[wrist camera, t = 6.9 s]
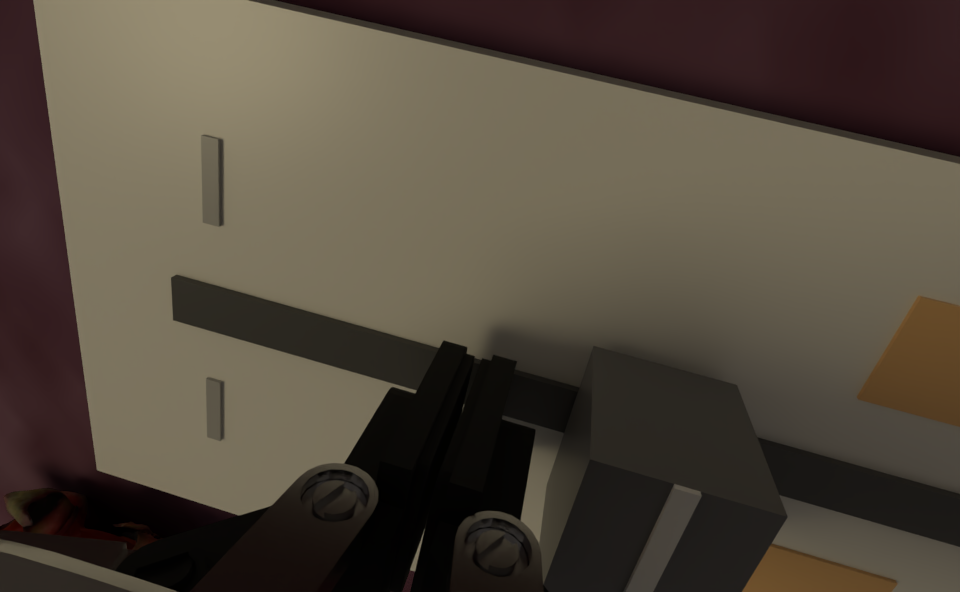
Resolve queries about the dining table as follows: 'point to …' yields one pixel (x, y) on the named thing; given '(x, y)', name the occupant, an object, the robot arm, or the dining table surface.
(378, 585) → the robot arm
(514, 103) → the slider board
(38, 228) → the dining table surface
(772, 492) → the fader
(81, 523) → the dragon fruit
